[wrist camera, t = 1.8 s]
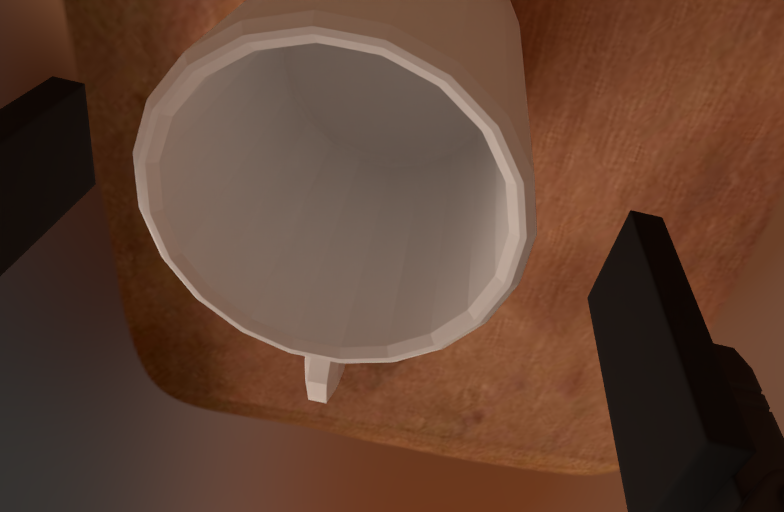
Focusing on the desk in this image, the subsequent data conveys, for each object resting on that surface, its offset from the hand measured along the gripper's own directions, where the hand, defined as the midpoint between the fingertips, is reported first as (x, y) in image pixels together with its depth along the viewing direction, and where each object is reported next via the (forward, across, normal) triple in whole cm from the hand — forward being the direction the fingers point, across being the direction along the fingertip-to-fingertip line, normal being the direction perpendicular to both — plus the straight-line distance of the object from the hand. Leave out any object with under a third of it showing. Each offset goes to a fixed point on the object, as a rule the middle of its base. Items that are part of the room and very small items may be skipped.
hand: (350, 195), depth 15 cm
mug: (+7, 0, -1) cm, 7 cm away
